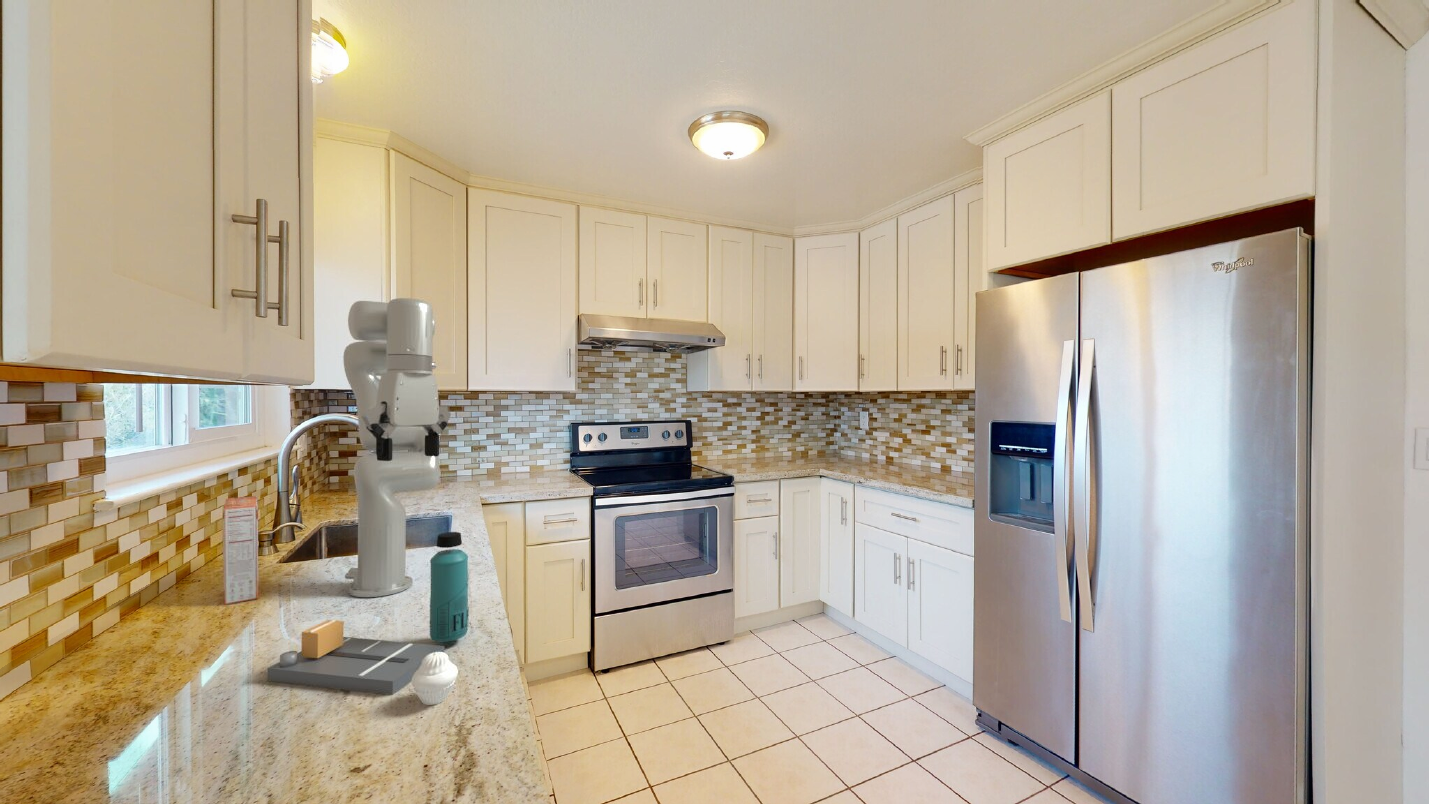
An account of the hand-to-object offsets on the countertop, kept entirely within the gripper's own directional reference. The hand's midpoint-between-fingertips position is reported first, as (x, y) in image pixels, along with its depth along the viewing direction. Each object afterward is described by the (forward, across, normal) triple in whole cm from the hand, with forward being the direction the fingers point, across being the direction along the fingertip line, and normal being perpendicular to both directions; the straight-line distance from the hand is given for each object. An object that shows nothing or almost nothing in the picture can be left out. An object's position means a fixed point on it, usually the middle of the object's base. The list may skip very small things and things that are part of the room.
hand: (409, 458), depth 102 cm
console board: (+33, +11, +4) cm, 35 cm away
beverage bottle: (+34, -2, +8) cm, 35 cm away
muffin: (+34, +13, +22) cm, 43 cm away
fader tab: (+31, +13, -3) cm, 34 cm away
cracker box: (+33, 0, -54) cm, 63 cm away
